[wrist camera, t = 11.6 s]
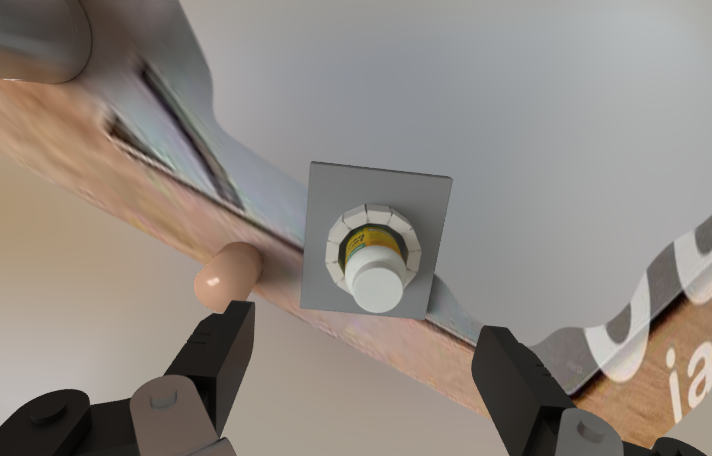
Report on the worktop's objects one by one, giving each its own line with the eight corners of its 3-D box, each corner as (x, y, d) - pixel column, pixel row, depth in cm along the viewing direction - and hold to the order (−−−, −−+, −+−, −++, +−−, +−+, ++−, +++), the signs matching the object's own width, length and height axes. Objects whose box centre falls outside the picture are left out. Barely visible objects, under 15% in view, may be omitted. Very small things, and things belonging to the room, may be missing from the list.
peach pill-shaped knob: (218, 281, 39) (194, 309, 33) (217, 239, 37) (193, 262, 32) (262, 285, 39) (247, 314, 33) (264, 244, 38) (248, 267, 32)
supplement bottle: (383, 278, 37) (393, 330, 28) (337, 259, 37) (332, 307, 27) (406, 234, 36) (424, 275, 27) (358, 214, 35) (360, 249, 26)
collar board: (301, 301, 40) (296, 321, 36) (312, 161, 35) (306, 166, 31) (422, 312, 40) (429, 333, 37) (448, 176, 35) (460, 184, 32)
